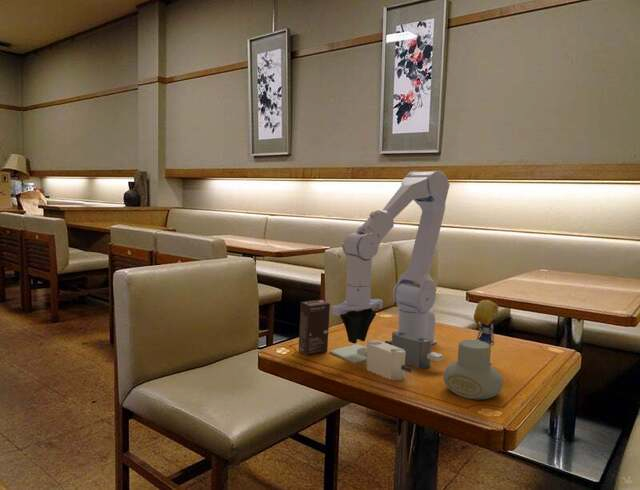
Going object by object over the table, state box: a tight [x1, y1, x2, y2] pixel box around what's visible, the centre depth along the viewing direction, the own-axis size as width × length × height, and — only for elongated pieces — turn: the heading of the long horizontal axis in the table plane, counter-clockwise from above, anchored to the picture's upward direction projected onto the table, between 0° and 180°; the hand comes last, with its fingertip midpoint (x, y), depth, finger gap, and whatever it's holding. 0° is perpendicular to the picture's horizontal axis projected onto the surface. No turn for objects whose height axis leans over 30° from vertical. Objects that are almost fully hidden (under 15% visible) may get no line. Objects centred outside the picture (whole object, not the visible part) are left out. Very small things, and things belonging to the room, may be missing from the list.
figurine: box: [473, 299, 499, 366], centre depth 108 cm, size 5×5×15 cm
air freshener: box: [442, 339, 504, 401], centre depth 92 cm, size 11×8×10 cm
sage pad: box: [329, 343, 367, 365], centre depth 114 cm, size 9×9×1 cm
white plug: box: [357, 339, 413, 382], centre depth 102 cm, size 14×4×6 cm, turn 39°
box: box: [298, 299, 331, 356], centre depth 115 cm, size 6×4×12 cm
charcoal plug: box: [384, 331, 444, 369], centre depth 109 cm, size 14×4×6 cm, turn 46°
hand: (356, 341), depth 114 cm, fingers closed
